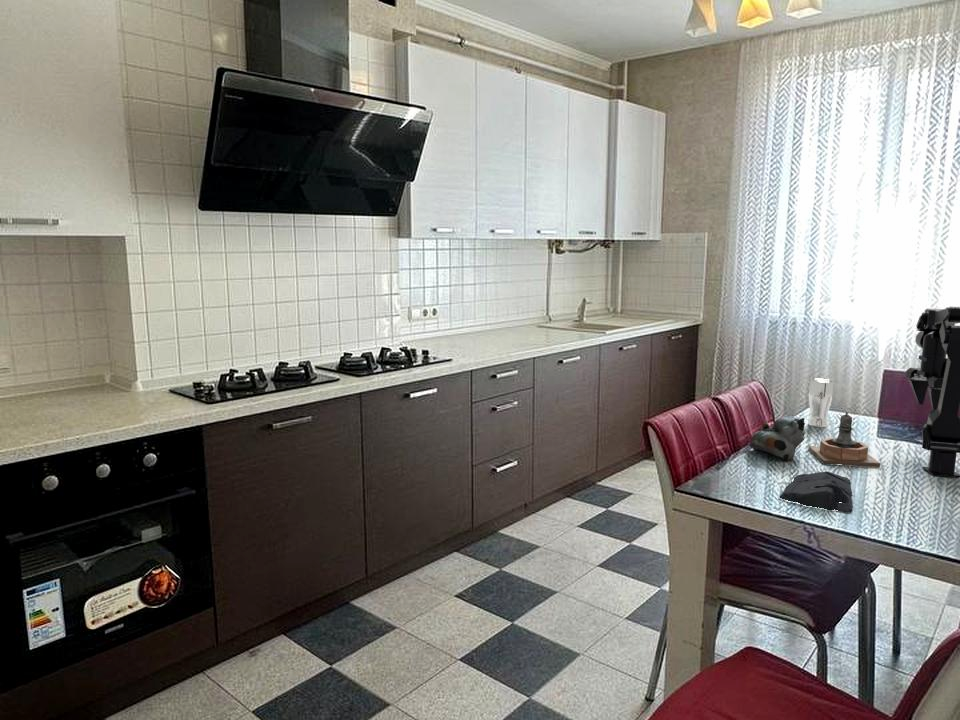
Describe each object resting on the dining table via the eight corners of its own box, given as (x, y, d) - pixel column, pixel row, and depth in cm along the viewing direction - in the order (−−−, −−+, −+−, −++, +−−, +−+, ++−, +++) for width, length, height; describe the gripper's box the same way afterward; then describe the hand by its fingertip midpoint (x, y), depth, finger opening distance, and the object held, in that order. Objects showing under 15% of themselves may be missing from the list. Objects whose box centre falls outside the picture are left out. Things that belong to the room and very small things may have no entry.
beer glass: (812, 421, 235) (816, 377, 233) (833, 425, 230) (837, 380, 228) (802, 424, 231) (806, 380, 229) (823, 429, 226) (828, 383, 223)
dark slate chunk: (860, 489, 170) (862, 470, 169) (850, 518, 152) (852, 497, 151) (792, 477, 178) (793, 459, 178) (775, 503, 160) (777, 483, 159)
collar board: (879, 467, 186) (881, 452, 185) (823, 464, 188) (825, 449, 188) (860, 452, 200) (862, 438, 199) (808, 449, 202) (809, 435, 201)
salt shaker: (846, 458, 190) (850, 415, 188) (826, 452, 195) (830, 410, 193) (859, 455, 193) (863, 412, 191) (840, 450, 198) (843, 408, 196)
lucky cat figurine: (746, 446, 205) (770, 404, 204) (786, 467, 200) (810, 425, 200) (747, 444, 191) (772, 400, 190) (790, 467, 186) (816, 422, 186)
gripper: (983, 359, 186) (976, 417, 188) (949, 349, 204) (943, 402, 206) (937, 358, 187) (931, 415, 190) (907, 348, 206) (902, 400, 208)
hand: (927, 408), depth 199 cm, fingers open, 9 cm apart
